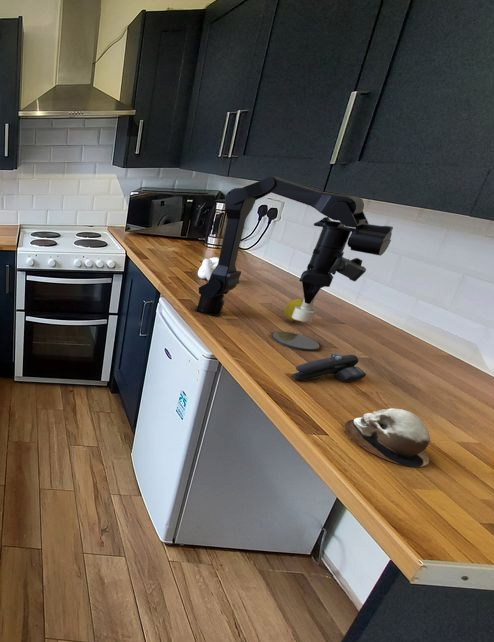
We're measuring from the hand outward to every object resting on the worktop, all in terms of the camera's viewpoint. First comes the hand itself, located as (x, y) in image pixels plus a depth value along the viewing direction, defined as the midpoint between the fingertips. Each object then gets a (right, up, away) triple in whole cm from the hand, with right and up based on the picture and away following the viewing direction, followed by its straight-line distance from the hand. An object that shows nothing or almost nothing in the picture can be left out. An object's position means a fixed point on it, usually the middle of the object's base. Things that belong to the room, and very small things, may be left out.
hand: (307, 302), depth 110 cm
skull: (-14, -28, -34) cm, 47 cm away
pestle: (0, -5, +2) cm, 5 cm away
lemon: (+10, -6, +18) cm, 22 cm away
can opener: (-7, -19, -13) cm, 24 cm away
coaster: (0, -11, +5) cm, 12 cm away
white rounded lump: (+6, +17, +56) cm, 59 cm away
